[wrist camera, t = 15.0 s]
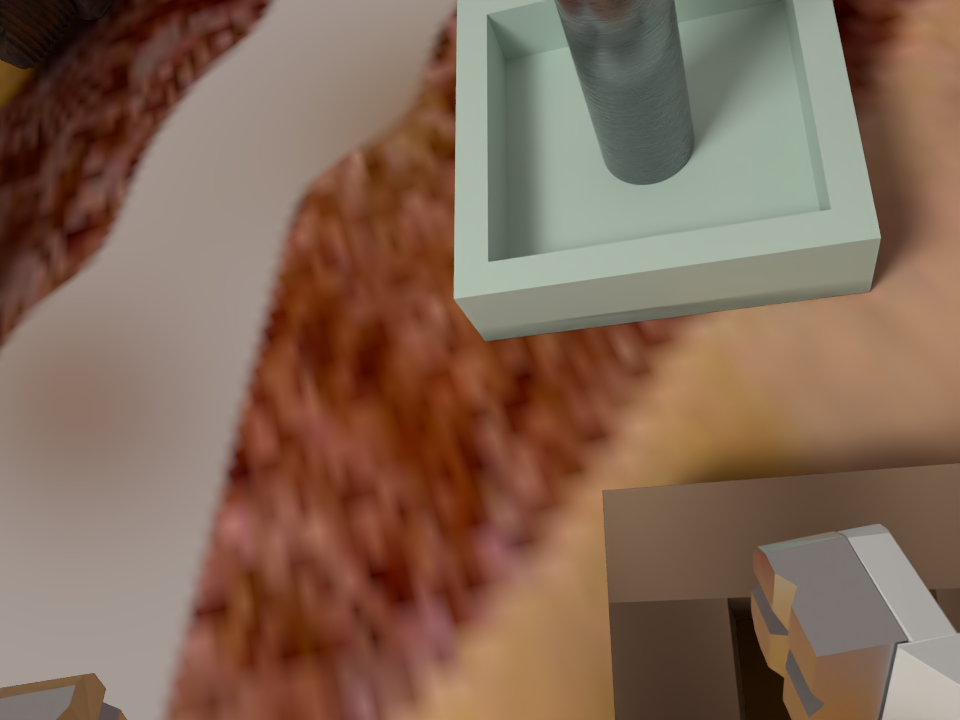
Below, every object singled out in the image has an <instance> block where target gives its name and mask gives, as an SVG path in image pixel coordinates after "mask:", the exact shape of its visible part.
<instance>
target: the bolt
mask: <svg viewBox="0 0 960 720" xmlns="http://www.w3.org/2000/svg"><path fill="white" fill-rule="evenodd" d="M113 1H114V0H0V59H1V60H3V61H5V62H7V63H10V64H12V65H14V66H16V67H18V68H21V69H27V68H29V67H31V68H36V64H35V62H38V63H42V61H41V57H44V58H46V54H45V51H48V52H50V47H49V45H55V43H54V39H59V35H58V33H63V32H64V30H63V27H68V23H67V21H72V19H73V18H72V15H73V16H76V17H79V18H81V19H84V20H95V19H99V18H101V17H102V16H103V14H104V13H105V12H106V10H107V9H108V8H109V6H110V5H111V4H112V2H113Z"/></svg>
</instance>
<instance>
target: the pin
mask: <svg viewBox="0 0 960 720" xmlns="http://www.w3.org/2000/svg"><path fill="white" fill-rule="evenodd" d="M554 1H555V4H556V7H557V11H558V14H559V17H560V20H561V24H562V27H563V30H564V33H565V36H566V40H567V43H568V46H569V49H570V53H571V56H572V59H573V62H574V66H575V69H576V72H577V75H578V79H579V82H580V85H581V88H582V92H583V95H584V98H585V101H586V104H587V108H588V111H589V114H590V117H591V121H592V124H593V127H594V130H595V134H596V137H597V140H598V143H599V147H600V150H601V153H602V156H603V159H604V163H605V165H606V167H607V169H608V170H609V171H610V172H611V173H612V174H613V175H614V176H615V177H616V178H618V179H619V180H621V181H623V182H626V183H629V184H634V185H650V184H655V183H659V182H662V181H664V180H667V179H669V178H670V177H672V176H674V175H675V174H676V173H678V172H679V171H680V170H681V169H682V168H683V167H684V166H685V165H686V164H687V162H688V161H689V159H690V157H691V155H692V153H693V149H694V144H695V137H694V130H693V124H692V117H691V110H690V103H689V96H688V89H687V82H686V75H685V68H684V61H683V55H682V48H681V41H680V34H679V27H678V20H677V13H676V6H675V0H554Z"/></svg>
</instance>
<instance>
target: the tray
mask: <svg viewBox="0 0 960 720" xmlns="http://www.w3.org/2000/svg"><path fill="white" fill-rule="evenodd" d="M675 6H676V13H677V20H678V27H679V34H680V41H681V48H682V55H683V61H684V68H685V75H686V82H687V89H688V96H689V103H690V110H691V117H692V124H693V130H694V137H695V144H694V149H693V153H692V155H691V157H690V159H689V161H688V162H687V164H686V165H685V166H684V167H683V168H682V169H681V170H680V171H679V172H678V173H676V174H675V175H674V176H672V177H670V178H669V179H667V180H664V181H662V182H659V183H655V184H650V185H634V184H629V183H626V182H623V181H621V180H619V179H618V178H616V177H615V176H614V175H613V174H612V173H611V172H610V171H609V170H608V169H607V167H606V165H605V163H604V159H603V156H602V153H601V150H600V147H599V143H598V140H597V137H596V134H595V130H594V127H593V124H592V121H591V117H590V114H589V111H588V108H587V104H586V101H585V98H584V95H583V92H582V88H581V85H580V82H579V79H578V75H577V72H576V69H575V66H574V62H573V59H572V56H571V53H570V49H569V46H568V43H567V40H566V36H565V33H564V30H563V27H562V24H561V20H560V17H559V14H558V11H557V7H556V4H555V1H554V0H457V65H456V151H455V238H454V300H455V301H456V303H457V304H458V305H459V307H460V308H461V309H462V311H463V312H464V313H465V315H466V316H467V317H468V319H469V320H470V321H471V323H472V324H473V325H474V327H475V328H476V329H477V331H478V332H479V333H480V335H481V336H482V337H483V339H484V340H485V341H491V340H499V339H507V338H514V337H522V336H530V335H538V334H545V333H553V332H561V331H569V330H577V329H584V328H592V327H600V326H608V325H616V324H623V323H631V322H639V321H647V320H654V319H662V318H670V317H678V316H686V315H693V314H701V313H709V312H717V311H725V310H732V309H740V308H748V307H756V306H763V305H771V304H779V303H787V302H795V301H802V300H810V299H818V298H826V297H834V296H841V295H849V294H857V293H865V292H870V289H871V284H872V279H873V275H874V270H875V265H876V260H877V255H878V250H879V245H880V241H881V235H880V230H879V225H878V220H877V215H876V210H875V206H874V201H873V196H872V191H871V186H870V181H869V176H868V172H867V167H866V162H865V157H864V152H863V147H862V142H861V137H860V133H859V128H858V123H857V118H856V113H855V108H854V103H853V99H852V94H851V89H850V84H849V79H848V74H847V69H846V64H845V60H844V55H843V50H842V45H841V40H840V35H839V30H838V26H837V21H836V16H835V11H834V6H833V1H832V0H675Z"/></svg>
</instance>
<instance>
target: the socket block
mask: <svg viewBox="0 0 960 720" xmlns="http://www.w3.org/2000/svg"><path fill="white" fill-rule="evenodd" d="M602 493H603V511H604V528H605V546H606V564H607V581H608V599H609V617H610V635H611V652H612V670H613V688H614V706H615V720H746V713H745V704H744V694H743V685H742V676H741V667H740V658H739V649H738V640H737V631H736V622H735V620H738V619H753V617H752V612H751V591H752V590H753V589H754V588H755V587H756V585H757V584H758V583H759V581H758V579H757V576H756V574H755V572H754V570H753V568H752V565H753V553H754V551H755V549H756V547H758V546H763V545H768V544H772V543H777V542H782V541H787V540H792V539H797V538H802V537H807V536H812V535H817V534H822V533H827V532H832V531H835V532H838V531H842V530H847V529H853V528H858V527H863V526H868V525H873V524H881V525H882V526H884V527H885V528H887V529H888V530H889V532H890V533H891V534H892V536H893V537H894V539H895V540H896V542H897V543H898V545H899V546H900V548H901V549H902V551H903V552H904V554H905V555H906V557H907V558H908V560H909V561H910V563H911V564H912V566H913V567H914V569H915V570H916V572H917V573H918V575H919V576H920V578H921V579H922V581H923V582H924V584H925V585H926V586H927V588H928V589H929V591H930V592H931V594H932V595H933V597H934V598H935V600H936V601H937V603H938V604H939V606H940V607H941V609H942V610H943V612H944V613H945V615H946V616H947V618H948V619H949V621H950V622H951V624H952V625H953V627H954V628H955V630H956V631H957V633H960V463H954V464H941V465H928V466H915V467H902V468H889V469H876V470H863V471H850V472H837V473H824V474H811V475H799V476H786V477H773V478H760V479H747V480H734V481H721V482H708V483H695V484H682V485H669V486H656V487H643V488H630V489H617V490H604V491H602Z"/></svg>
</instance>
